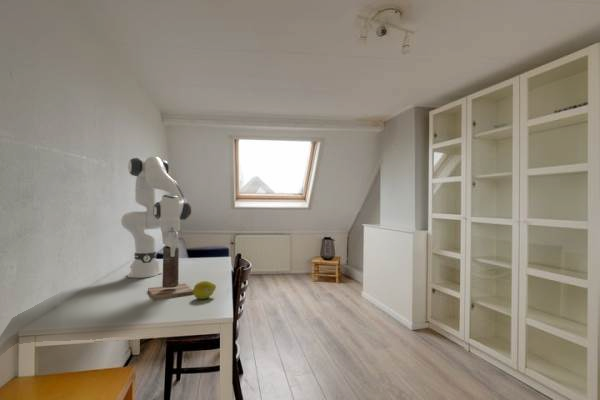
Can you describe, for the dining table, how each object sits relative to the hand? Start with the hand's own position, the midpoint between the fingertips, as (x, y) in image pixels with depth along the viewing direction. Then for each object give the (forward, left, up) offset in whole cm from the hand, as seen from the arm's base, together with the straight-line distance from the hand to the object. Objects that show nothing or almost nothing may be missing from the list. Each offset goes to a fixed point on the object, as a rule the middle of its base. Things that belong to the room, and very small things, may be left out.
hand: (170, 255), depth 162 cm
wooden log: (0, 0, -16) cm, 16 cm away
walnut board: (0, 0, -19) cm, 19 cm away
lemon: (+19, +11, -19) cm, 29 cm away
